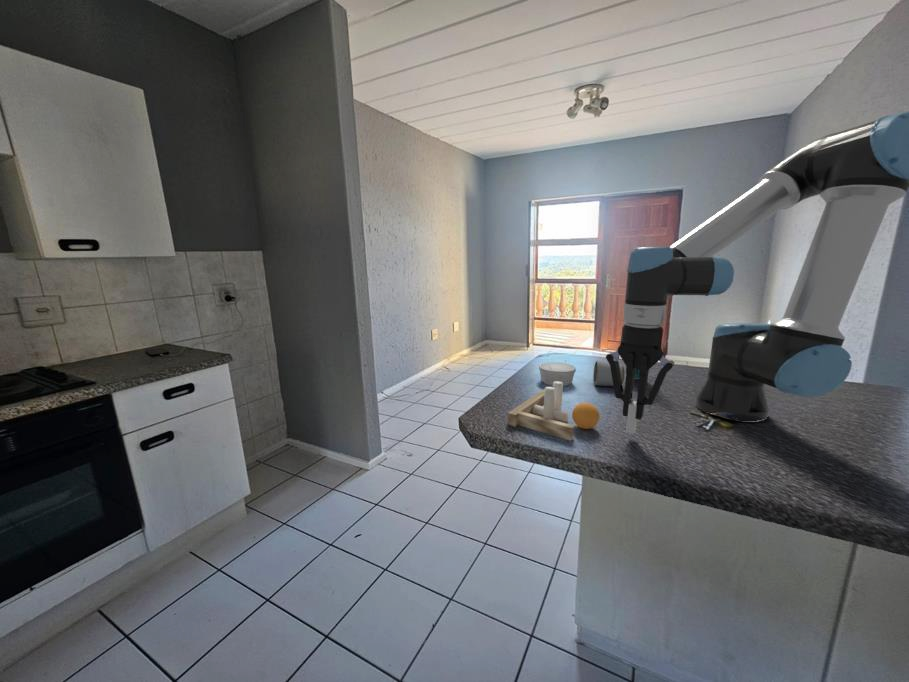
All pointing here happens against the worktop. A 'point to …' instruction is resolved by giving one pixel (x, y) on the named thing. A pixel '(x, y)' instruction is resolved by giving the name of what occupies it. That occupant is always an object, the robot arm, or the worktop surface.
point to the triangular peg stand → (539, 419)
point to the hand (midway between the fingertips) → (630, 430)
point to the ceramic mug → (605, 374)
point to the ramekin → (557, 373)
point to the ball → (585, 415)
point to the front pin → (557, 414)
